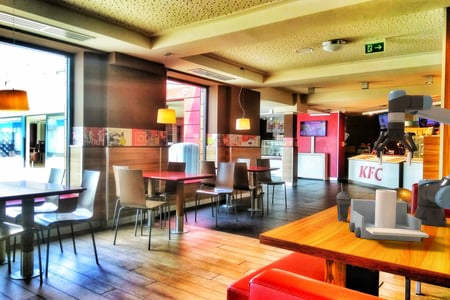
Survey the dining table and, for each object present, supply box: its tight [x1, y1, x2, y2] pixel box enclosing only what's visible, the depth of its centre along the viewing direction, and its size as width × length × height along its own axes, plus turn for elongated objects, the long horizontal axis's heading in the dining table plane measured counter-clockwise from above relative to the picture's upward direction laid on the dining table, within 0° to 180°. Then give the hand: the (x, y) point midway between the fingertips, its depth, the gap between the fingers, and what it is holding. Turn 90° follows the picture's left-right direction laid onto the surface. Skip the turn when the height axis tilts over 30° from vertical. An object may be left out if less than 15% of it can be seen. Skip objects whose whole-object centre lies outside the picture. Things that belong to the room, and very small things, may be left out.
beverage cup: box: [335, 182, 352, 223], centre depth 173 cm, size 7×7×20 cm
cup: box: [375, 188, 398, 229], centre depth 146 cm, size 8×8×16 cm
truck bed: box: [348, 198, 425, 243], centre depth 148 cm, size 27×18×14 cm, turn 83°
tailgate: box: [366, 227, 430, 238], centre depth 134 cm, size 21×1×9 cm
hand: (394, 165), depth 162 cm, fingers open, 13 cm apart
